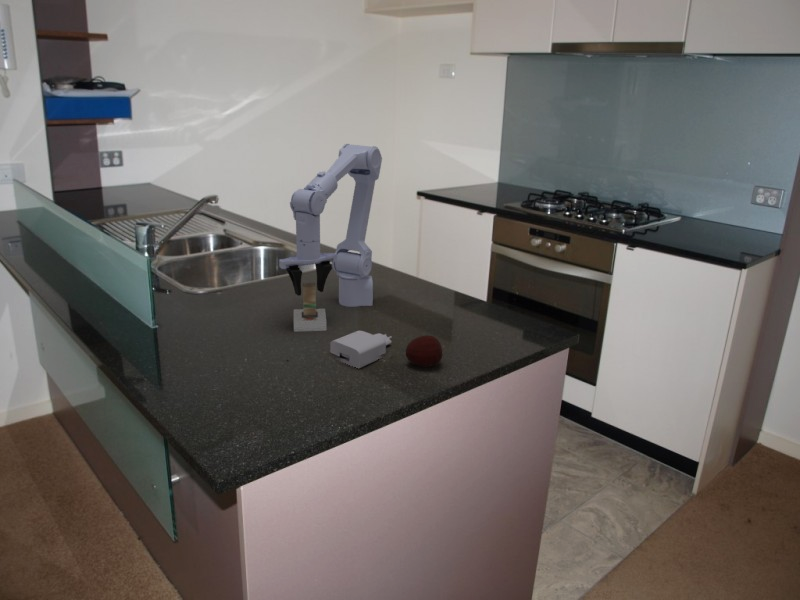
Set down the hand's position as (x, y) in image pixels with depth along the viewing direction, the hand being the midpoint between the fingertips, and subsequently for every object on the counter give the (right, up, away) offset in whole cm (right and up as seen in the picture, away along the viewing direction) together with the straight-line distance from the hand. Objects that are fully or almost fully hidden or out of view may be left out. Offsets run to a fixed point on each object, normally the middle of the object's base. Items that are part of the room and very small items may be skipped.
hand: (309, 292), depth 159 cm
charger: (+15, -15, -9) cm, 23 cm away
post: (0, -5, +2) cm, 5 cm away
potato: (+28, -17, -14) cm, 36 cm away
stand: (0, -9, +3) cm, 10 cm away
